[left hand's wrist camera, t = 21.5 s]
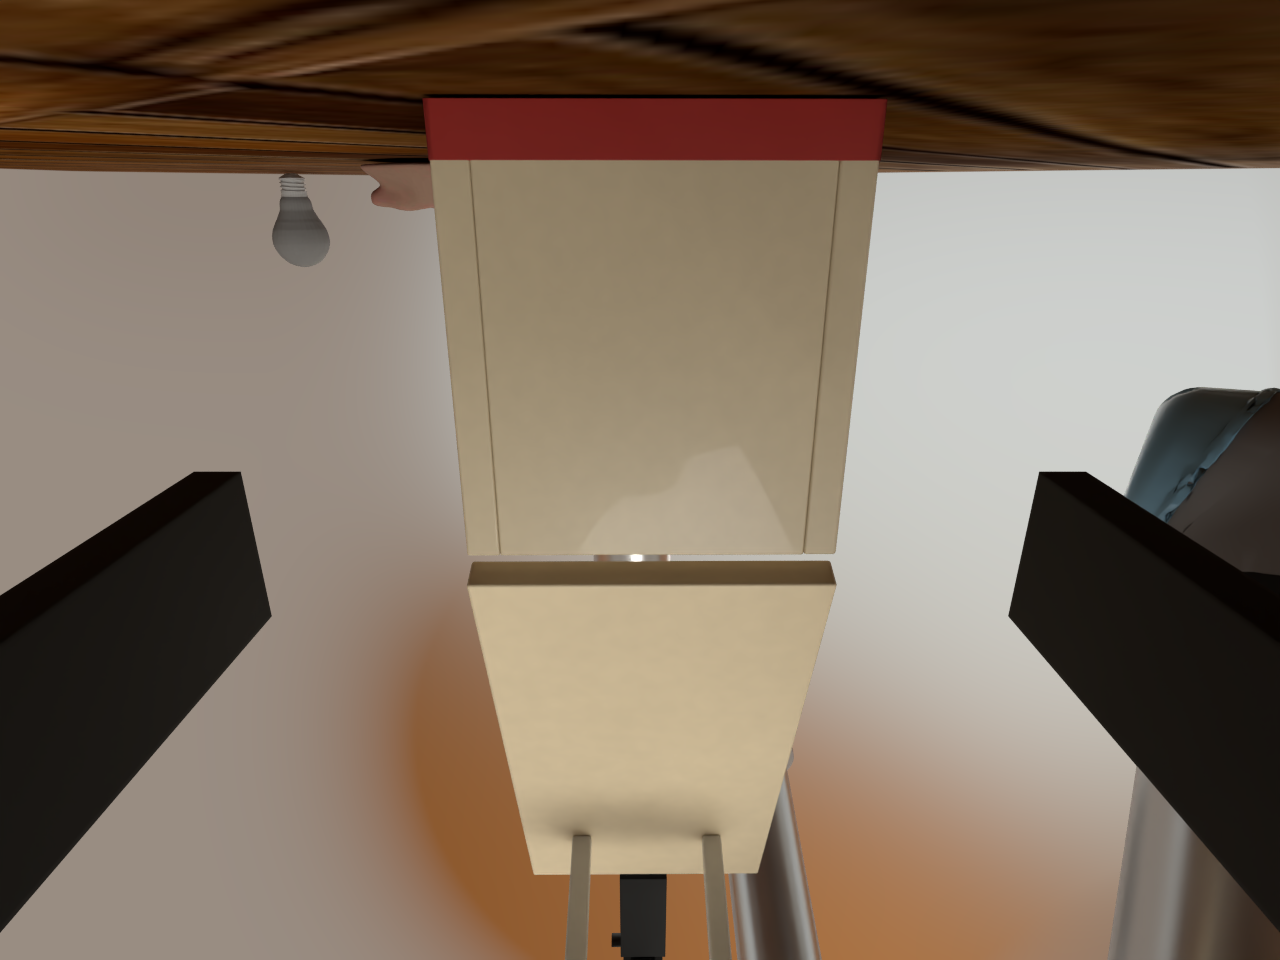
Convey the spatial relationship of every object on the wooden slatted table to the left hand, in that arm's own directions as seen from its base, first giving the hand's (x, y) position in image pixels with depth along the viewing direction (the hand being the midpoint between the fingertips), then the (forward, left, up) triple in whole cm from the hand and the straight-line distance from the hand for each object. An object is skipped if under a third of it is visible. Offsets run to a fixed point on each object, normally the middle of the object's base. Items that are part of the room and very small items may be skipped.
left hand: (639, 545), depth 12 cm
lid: (-7, +6, +12) cm, 15 cm away
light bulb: (-31, +81, -7) cm, 87 cm away
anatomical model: (-24, +41, -7) cm, 48 cm away
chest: (-10, +9, -7) cm, 16 cm away
